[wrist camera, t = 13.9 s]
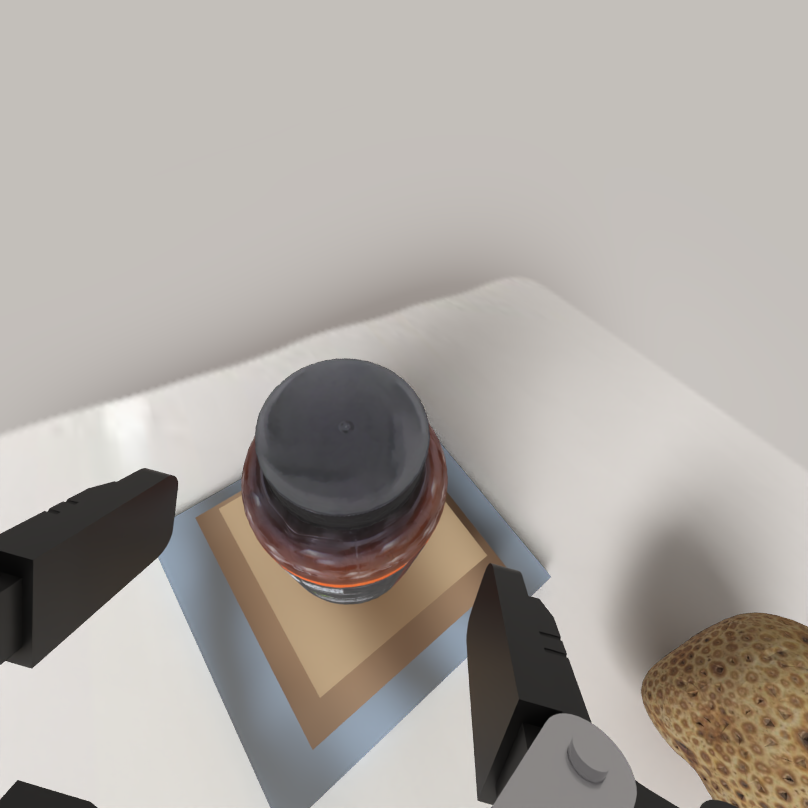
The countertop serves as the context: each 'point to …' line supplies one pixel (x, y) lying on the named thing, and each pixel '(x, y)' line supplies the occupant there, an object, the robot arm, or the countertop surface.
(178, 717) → the countertop surface
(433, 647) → the block tower
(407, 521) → the supplement bottle
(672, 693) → the natural sponge
